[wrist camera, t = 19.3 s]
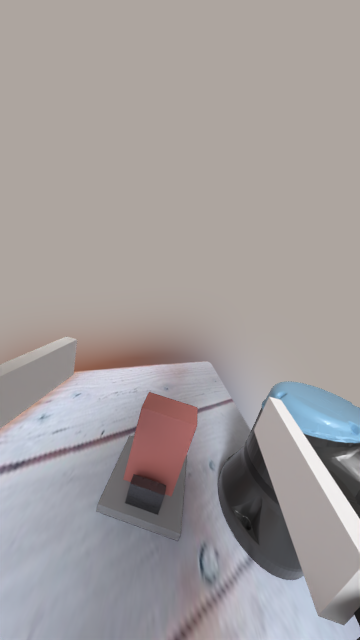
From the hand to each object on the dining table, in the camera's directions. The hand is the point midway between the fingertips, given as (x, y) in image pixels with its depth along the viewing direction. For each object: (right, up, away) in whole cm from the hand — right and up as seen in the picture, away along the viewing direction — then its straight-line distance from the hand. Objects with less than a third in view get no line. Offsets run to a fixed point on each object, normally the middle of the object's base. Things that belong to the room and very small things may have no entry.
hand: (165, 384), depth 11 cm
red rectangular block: (-4, -22, +17) cm, 28 cm away
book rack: (-4, -23, +18) cm, 30 cm away
